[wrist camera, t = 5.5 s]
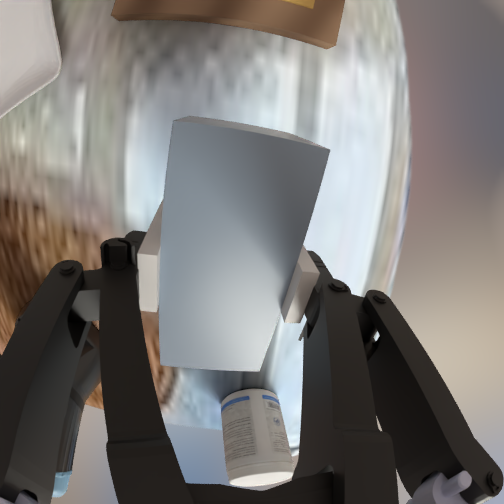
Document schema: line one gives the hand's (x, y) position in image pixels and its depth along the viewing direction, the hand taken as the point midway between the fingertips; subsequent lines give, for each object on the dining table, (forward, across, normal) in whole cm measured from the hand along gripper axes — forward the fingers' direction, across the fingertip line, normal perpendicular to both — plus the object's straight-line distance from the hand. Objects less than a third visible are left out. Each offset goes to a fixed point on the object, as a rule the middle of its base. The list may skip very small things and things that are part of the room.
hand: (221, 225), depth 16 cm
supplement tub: (+9, +10, -34) cm, 36 cm away
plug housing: (0, 0, 0) cm, 0 cm away
